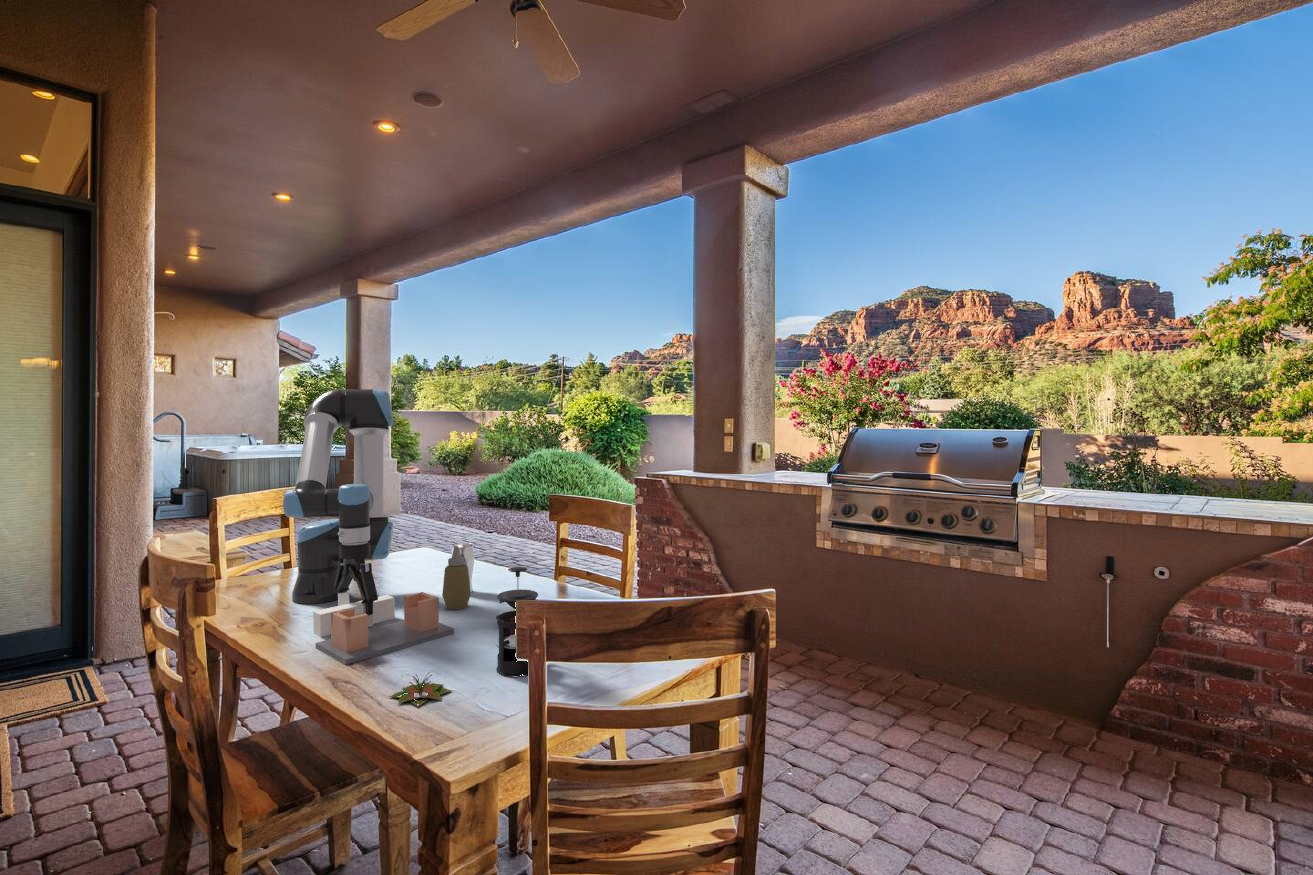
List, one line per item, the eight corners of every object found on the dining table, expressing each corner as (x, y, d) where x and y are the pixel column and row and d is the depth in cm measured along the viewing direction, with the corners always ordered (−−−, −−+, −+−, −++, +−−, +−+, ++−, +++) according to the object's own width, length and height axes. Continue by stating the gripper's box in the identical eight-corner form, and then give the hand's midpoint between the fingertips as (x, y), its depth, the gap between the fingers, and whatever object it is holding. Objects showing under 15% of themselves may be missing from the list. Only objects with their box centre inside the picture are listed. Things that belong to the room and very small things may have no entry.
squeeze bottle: (462, 612, 188) (462, 550, 187) (436, 610, 189) (436, 548, 189) (475, 604, 196) (475, 544, 195) (451, 602, 197) (450, 542, 196)
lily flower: (376, 700, 132) (376, 678, 132) (425, 680, 142) (424, 659, 142) (416, 715, 126) (416, 692, 126) (464, 692, 136) (463, 671, 136)
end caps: (315, 647, 159) (314, 611, 159) (421, 619, 181) (421, 587, 180) (345, 664, 149) (345, 625, 149) (454, 633, 170) (453, 599, 170)
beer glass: (478, 590, 210) (478, 544, 209) (465, 596, 203) (465, 548, 203) (460, 588, 212) (460, 542, 212) (446, 594, 206) (446, 546, 205)
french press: (509, 681, 141) (509, 575, 140) (485, 669, 147) (485, 568, 146) (553, 666, 149) (553, 566, 148) (528, 655, 156) (528, 559, 155)
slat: (313, 634, 169) (313, 611, 169) (387, 615, 185) (387, 594, 185) (320, 637, 167) (320, 614, 167) (394, 618, 182) (394, 597, 182)
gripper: (319, 538, 180) (320, 615, 181) (362, 550, 164) (363, 634, 165) (347, 534, 186) (348, 609, 186) (391, 546, 170) (392, 627, 170)
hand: (355, 621), depth 175 cm, fingers open, 13 cm apart
